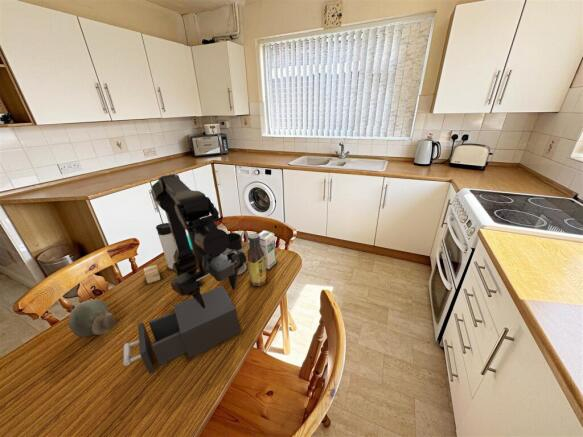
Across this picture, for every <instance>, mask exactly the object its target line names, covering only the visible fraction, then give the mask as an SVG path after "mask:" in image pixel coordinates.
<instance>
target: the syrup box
mask: <svg viewBox="0 0 583 437" xmlns="http://www.w3.org/2000/svg"><path fill="white" fill-rule="evenodd" d="M258 234H259V236H260V239H259V240H260V246H261V248H262V250H263V252H264V256H265V267H266V270H270V269H271V268H272V267H273V266H274V265H275V264H276V263H278V261H277V259H278V258H277V250H276V249H277V248H276V240H275V233H274V232H271V231H268V230H262V231H260V232H258Z"/></svg>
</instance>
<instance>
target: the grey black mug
mask: <svg viewBox="0 0 583 437" xmlns="http://www.w3.org/2000/svg"><path fill="white" fill-rule="evenodd" d="M244 234H246V243H245V246H243V236H244ZM227 235H228V236H229V246H228V248H227V249H226V251H225V252H223V254H225V253H227V252H229V251H231V250H233V249H234V250H237V251H241V252H243V253H245V254H246V251H247V249H248V246H249V240H248V236H249V233H248V231H242V232H241V234H239V233H238V232H230V233H227ZM243 247H244V248H243ZM243 264H244V265H243V266H242V267H241V268H240V269H239V270H238V274H237V276H239V275H241V274H244V273H245V271H246V270H247V268H248V267H247V265H246V262H245V263H243Z"/></svg>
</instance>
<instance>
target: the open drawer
mask: <svg viewBox="0 0 583 437" xmlns="http://www.w3.org/2000/svg"><path fill="white" fill-rule="evenodd" d="M148 325H149V327H150V330H151V332H152V335H153V337H154V340H155V342H153V343H152V340H151V338H150V335H149V333H148V330H147V328H146V326H145V323H144V321H142V322H140V323H137V328H138V329H137V331H138V339H137V340H134V341H132V342H126V343H125V344H124V345H123V366H124V367H128V366H130V365H131V363H133V362H135V361H136V360H139V359H142V362H143V363H144V366H145V368H146V371H147V372H148V374H149V375H151V374H153V373H155V362H154V355H155V359H156V361H157V363H158V365H159V366H162V365H164V364H166V363H169V362H170V361H172V360H174V359H176V358H178V357H180V356H182V355H184V354H187V351H186V348H185V345H184V342H183V339H182V336H181V333H180V329H179V325H178V321H177V317H176V313H175V310H174V311H172V312H169V313H167V314H164V315H162V316H160V317H157V318H155V319H152V320H150V321H148ZM136 345H138V346H139V347H138V348H139V354H137V355H135V356H133V357H132V356H131V347H133V346H136ZM153 353H154V355H153Z"/></svg>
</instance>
